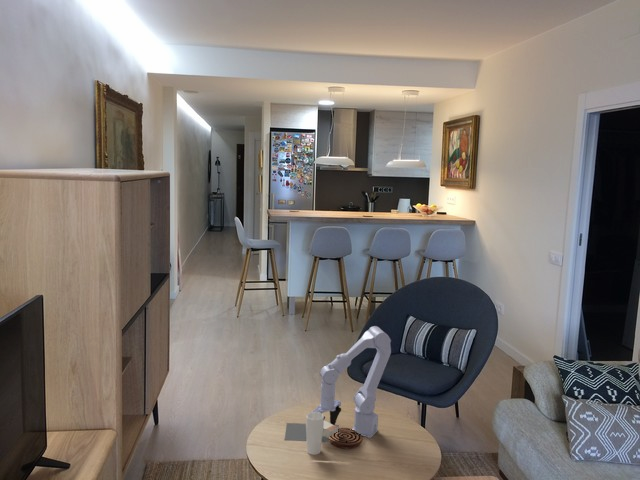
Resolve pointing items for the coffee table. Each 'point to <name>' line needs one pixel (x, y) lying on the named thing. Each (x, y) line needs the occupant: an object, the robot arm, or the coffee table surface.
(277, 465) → the coffee table surface
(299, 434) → the mat
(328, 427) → the card box
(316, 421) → the white cylinder
